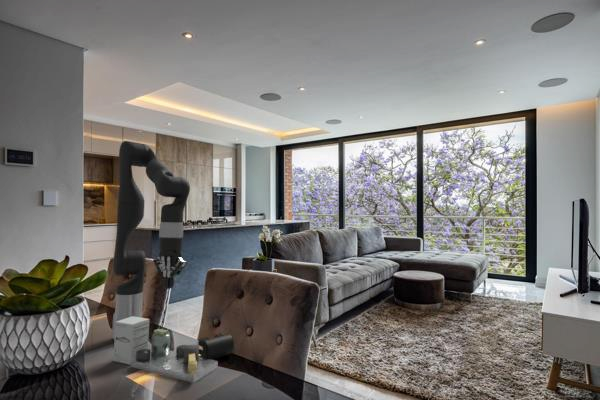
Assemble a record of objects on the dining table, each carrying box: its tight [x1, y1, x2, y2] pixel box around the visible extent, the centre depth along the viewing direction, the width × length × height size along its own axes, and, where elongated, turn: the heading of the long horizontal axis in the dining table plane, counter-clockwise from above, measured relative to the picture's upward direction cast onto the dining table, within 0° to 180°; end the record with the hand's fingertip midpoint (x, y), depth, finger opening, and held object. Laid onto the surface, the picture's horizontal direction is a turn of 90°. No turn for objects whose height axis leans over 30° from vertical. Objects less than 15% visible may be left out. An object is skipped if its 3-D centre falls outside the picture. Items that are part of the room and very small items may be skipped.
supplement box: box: [113, 316, 150, 366], centre depth 110 cm, size 7×7×13 cm
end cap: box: [197, 333, 235, 360], centre depth 112 cm, size 10×7×7 cm
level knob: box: [184, 344, 200, 372], centre depth 100 cm, size 12×4×4 cm, turn 20°
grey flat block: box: [130, 328, 219, 384], centre depth 105 cm, size 24×12×9 cm, turn 67°
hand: (168, 288), depth 111 cm, fingers closed
